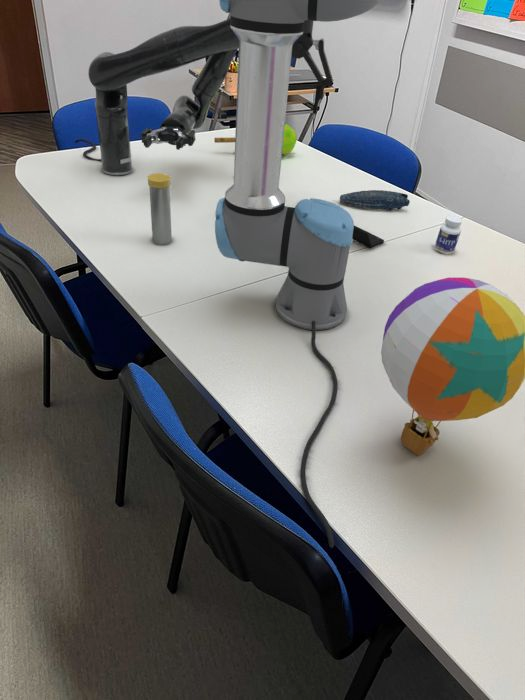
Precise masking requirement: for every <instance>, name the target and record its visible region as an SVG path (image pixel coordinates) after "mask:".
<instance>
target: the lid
mask: <svg viewBox="0 0 525 700" xmlns="http://www.w3.org/2000/svg"><path fill="white" fill-rule="evenodd" d="M147 185H148V187H149V186H150V187H153V188H166V187H169V186H171V176H170V175H169V174H166V173H159V172H158V173H152V174H151V173H150V174H149V175H148V176H147Z"/></svg>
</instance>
